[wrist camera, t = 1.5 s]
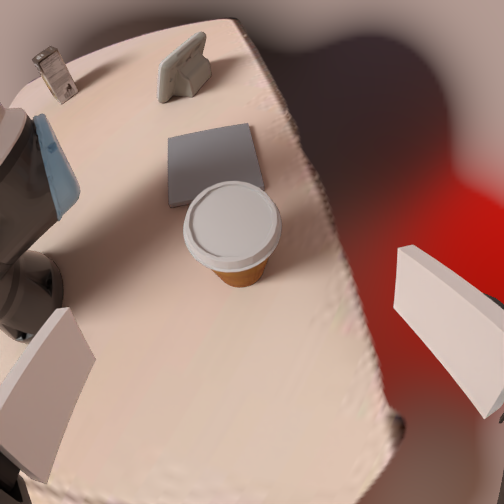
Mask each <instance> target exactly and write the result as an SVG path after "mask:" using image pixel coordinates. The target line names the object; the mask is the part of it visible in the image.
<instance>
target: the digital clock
mask: <svg viewBox="0 0 504 504" xmlns="http://www.w3.org/2000/svg"><path fill="white" fill-rule="evenodd" d="M205 42H206V34H205V33H204V32H198V33H195V34H194V35H193V36H191V37H190V38H189V39H187V40H186V41H185V42H184V43H182V44H181V45H180V46H179V47H178V48H176V49H175V50H174V51H173V52H172V53H171V54H169V55H168V56H167V57H166V58H165V59H164V60H163V61H162V62H161V63H160V65H159V70H158V83H157V99H158V101H159V102H160V103H164V102H167V101H168V100H169V99H170V98H171V97H172V96H173V95H175V96H185V97H193V96H194V95H195V94H196V92H197V91H198V90H199V89H200V88H201V87H202V85H203V84H204V83H205V82H206V81H207V80H208V79H209V78H210V76H211V75H212V74H211V68H210V63H209V60H208V59H206V58H205V57H204V56H203V55H202V54H203V50H204V46H205Z"/></svg>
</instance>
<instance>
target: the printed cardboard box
mask: <svg viewBox="0 0 504 504" xmlns="http://www.w3.org/2000/svg"><path fill="white" fill-rule="evenodd" d="M32 60H33V62H34V64H35V66H36V67H37V69H38V71H39V73H40V75H41V76H42V78H43V80H44V81H45V83H46V85H47V87H48V88H49V90H50V92H51V93H52V95H53V96H54V98H55V99H56V100H57V101H58V102H59V103H60V104H61V105H62V104H63V103H64V102H66V101H67V100H68V99H69V98H71V97H72V96H73V95H75V94H76V93H77V92H78V89H77V87H76V85H75V83H74V81H73V79H72V77H71V75H70V73H69V71H68V69H67V67H66V65H65V63H64V61H63V59H62V57H61V55H60V53H59V51H58V49H57V48H54V47H51V46H50V47H48V48H47V49H46V50H44V51H42V52H41V53H39V54H38V55H37V56H35V57H34V58H33V59H32Z"/></svg>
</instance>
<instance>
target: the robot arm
mask: <svg viewBox="0 0 504 504" xmlns="http://www.w3.org/2000/svg"><path fill="white" fill-rule="evenodd" d="M79 195H80V186H79V183H78V181H77V179H76V177H75V174H74V172H73V170H72V168H71V166H70V164H69V162H68V160H67V158H66V156H65V154H64V152H63V150H62V148H61V146H60V144H59V142H58V139H57V137H56V135H55V133H54V131H53V129H52V127H51V125H50V123H49V121H48V120H47V118H46V116H45V114H40V115H38V116H34V117H33V120H31V119H30V118H29V116H28V115H27V114H26V112H25V111H24V110H23V109H22V108H11V109H6V108H4V107H3V106H2V104H1V103H0V329H1V330H2V331H3V332H4V333H5V334H7V335H8V336H9V337H10V338H12V339H13V340H15V341H18V342H21V343H25V344H29V345H28V346H27V347H26V349H25V350H24V351H23V353H22V354H21V356H20V357H19V358H18V360H17V361H16V363H15V364H14V366H13V367H12V369H11V370H10V372H9V373H8V374H7V376H6V378H5V379H4V381H3V382H2V384H1V385H0V504H32V503H31V500H30V497H29V494H28V491H27V488H26V484H25V482H24V480H23V478H22V477H21V476H20V475H19V472H20V470H21V471H22V472H24V473H25V474H26V475H27V476H28V477H30V478H31V479H33V480H36V481H38V482H41V483H44V484H47V482H48V479H49V476H50V473H51V469H52V466H53V463H54V460H55V458H56V455H57V452H58V449H59V446H60V443H61V441H62V438H63V435H64V433H65V430H66V427H67V425H68V422H69V420H70V417H71V415H72V412H73V410H74V408H75V405H76V403H77V400H78V398H79V396H80V393H81V391H82V389H83V386H84V384H85V382H86V380H87V377H88V375H89V373H90V371H91V369H92V367H93V364H94V362H95V360H96V358H95V356H94V355H93V353H92V351H91V349H90V347H89V345H88V344H87V342H86V340H85V338H84V336H83V334H82V332H81V330H80V328H79V326H78V324H77V322H76V320H75V318H74V316H73V314H72V311H71V309H70V307H66V308H61V306H62V300H63V284H62V278H61V274H60V271H59V269H58V267H57V266H56V264H55V263H54V262H53V261H52V260H51V259H50V258H48V257H47V256H45V255H43V254H42V253H39V252H36V251H30V250H28V249H29V248H30V247H31V246H32V245H33V244H34V243H35V242H36V241H37V240H38V239H39V238H40V237H41V236H42V235H43V234H44V233H45V232H46V231H47V230H48V229H49V228H50V227H51V226H53V225H54V224H55V223H56V222H57V221H60V219H61V218H62V216H63V215H64V214H65V213H66V212H67V211H68V210H69V209H70V208H71V207H72V206H73V205H74V204H75V203H76V202H77V200H78V198H79ZM393 308H394V309H395V310H396V311H397V312H398V313H399V314H400V316H401V317H402V318H403V319H404V320H405V321H406V322H407V323H408V325H409V326H410V327H411V328H412V329H413V330H414V332H416V334H417V335H418V336H419V337H420V338H421V340H422V341H423V342H424V343H425V344H426V346H427V347H428V348H429V349H430V350H431V351H432V353H433V354H434V355H435V356H436V357H437V359H438V360H439V361H440V362H441V364H442V365H443V366H444V367H445V368H446V370H447V371H448V372H449V373H450V375H451V376H452V377H453V378H454V380H455V381H456V382H457V384H458V385H459V386H460V387H461V389H462V390H463V391H464V392H465V394H466V395H467V396H468V398H469V399H470V400H471V402H472V403H473V404H474V405H475V407H476V408H477V410H478V411H479V412H480V414H481V415H482V417H483V418H484V419H485V418H487V417H488V416H489V415H491V414H492V413H494V412H495V411H496V410H497V409H499V408H500V407H501V406H502V404H503V402H504V304H503V303H501V302H500V301H499V300H497V299H496V298H494V297H492V296H489V295H487V294H485V293H481V292H480V291H479V290H478V289H476V288H475V287H474V286H472V285H471V284H470V283H468V282H467V281H466V280H464V279H462V278H461V277H460V276H459V275H457V274H456V273H454V272H453V271H452V270H450V269H449V268H447V267H446V266H444V265H443V264H441V263H440V262H438V261H437V260H436V259H434V258H433V257H431V256H430V255H428V254H427V253H425V252H424V251H422V250H420V249H419V248H418V247H416V246H414V245H410V246H405V247H400V248H398V256H397V274H396V287H395V298H394V307H393ZM503 421H504V413H503V414H502V416H501V417H500V421H499V423H502V422H503ZM497 504H504V471H503V477H502V483H501V488H500V493H499V498H498V502H497Z"/></svg>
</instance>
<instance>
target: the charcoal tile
mask: <svg viewBox="0 0 504 504" xmlns="http://www.w3.org/2000/svg"><path fill="white" fill-rule="evenodd" d="M226 181H240V182H246V183H250V184H252V185H254V186H256V187H259V188H260V189H261V190H264V183H263V179H262V175H261V171H260V167H259V163H258V159H257V155H256V152H255V148H254V144H253V140H252V136H251V133H250V129H249V125H248V123H245V124H239V125H233V126H227V127H221V128H215V129H210V130H205V131H200V132H195V133H190V134H185V135H181V136H176V137H172V138H168V198H169V206H170V208H172V207H177V206H182V205H187V204H191V203H192V201H193V200H194V199H195V198H196V197H197V195H199V194H200V193H201V192H202V191H204V190H205V189H207V188H209V187H211V186H213V185H215V184H217V183H221V182H226Z"/></svg>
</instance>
